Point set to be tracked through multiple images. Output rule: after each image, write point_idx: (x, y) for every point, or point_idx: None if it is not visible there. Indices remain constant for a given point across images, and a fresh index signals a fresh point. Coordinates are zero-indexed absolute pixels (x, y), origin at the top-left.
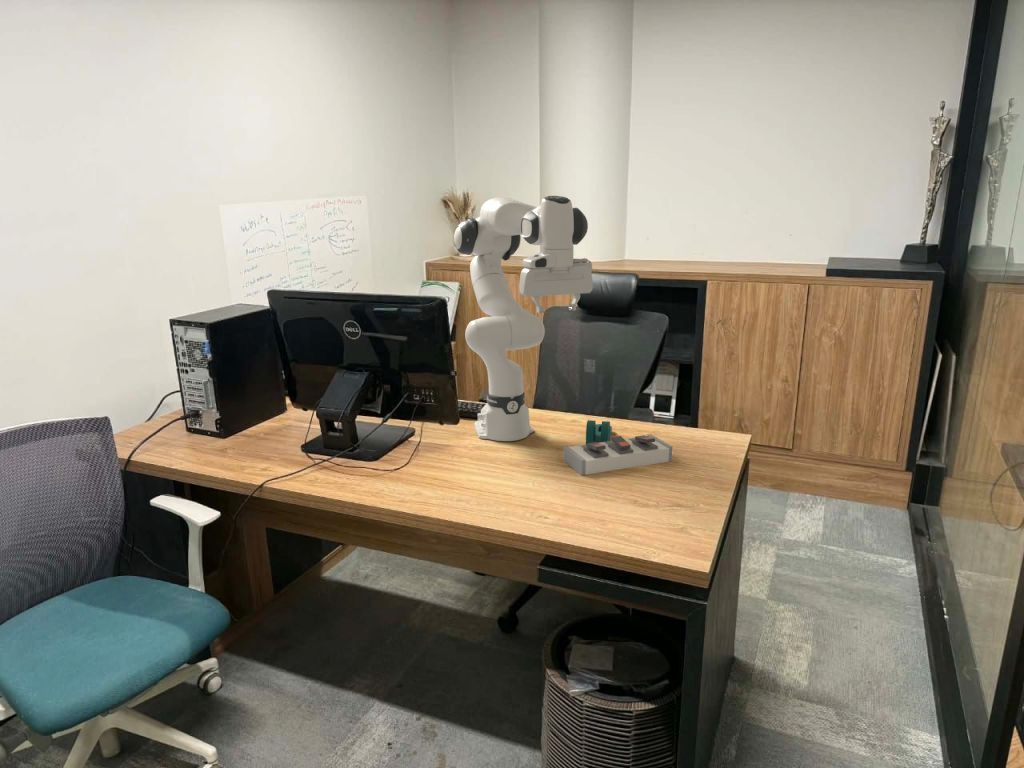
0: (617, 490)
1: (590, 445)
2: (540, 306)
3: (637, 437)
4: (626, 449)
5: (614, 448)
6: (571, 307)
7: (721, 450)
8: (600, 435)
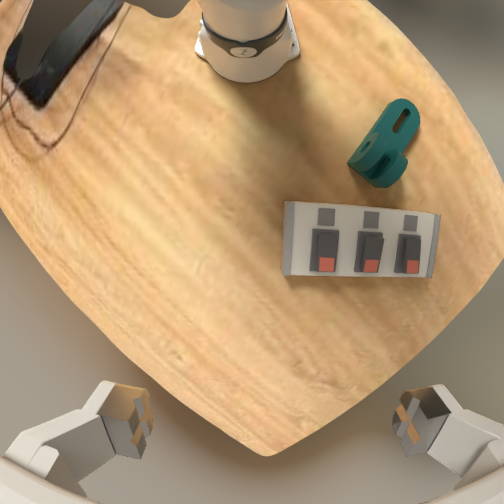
0: (297, 330)
1: (318, 250)
2: (110, 453)
3: (406, 246)
4: None
5: (357, 254)
6: (404, 434)
7: (481, 263)
8: (386, 149)
